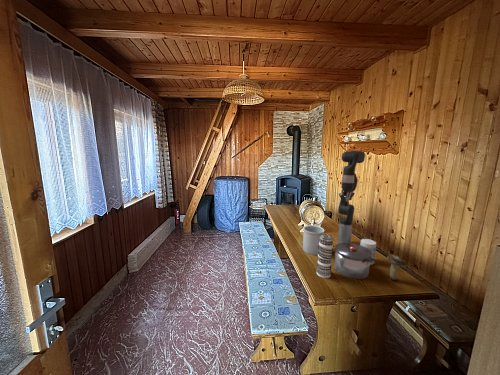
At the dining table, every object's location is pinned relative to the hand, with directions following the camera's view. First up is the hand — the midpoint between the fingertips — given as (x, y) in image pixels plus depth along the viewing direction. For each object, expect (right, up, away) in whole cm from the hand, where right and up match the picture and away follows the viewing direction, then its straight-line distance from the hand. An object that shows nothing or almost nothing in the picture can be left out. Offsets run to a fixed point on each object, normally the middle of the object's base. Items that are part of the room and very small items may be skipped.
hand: (345, 206), depth 149 cm
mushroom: (+19, -42, -21) cm, 51 cm away
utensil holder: (-19, -35, +14) cm, 42 cm away
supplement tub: (+14, -38, -1) cm, 41 cm away
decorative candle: (-21, -41, -16) cm, 48 cm away
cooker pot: (-1, -40, -11) cm, 41 cm away
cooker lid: (-1, -28, -14) cm, 31 cm away
